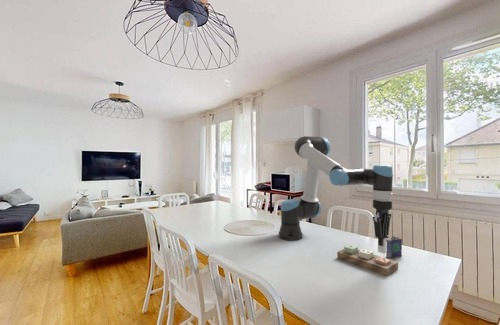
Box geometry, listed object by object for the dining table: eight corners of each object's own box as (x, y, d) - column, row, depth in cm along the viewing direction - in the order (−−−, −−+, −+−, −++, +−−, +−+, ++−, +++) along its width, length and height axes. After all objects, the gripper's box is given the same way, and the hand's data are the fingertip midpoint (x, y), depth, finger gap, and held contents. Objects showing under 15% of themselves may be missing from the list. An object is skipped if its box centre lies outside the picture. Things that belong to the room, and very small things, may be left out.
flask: (389, 258, 113) (389, 236, 113) (384, 256, 116) (384, 235, 116) (403, 256, 116) (403, 234, 116) (397, 254, 119) (397, 233, 119)
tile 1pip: (344, 251, 115) (344, 246, 115) (349, 249, 117) (349, 244, 117) (352, 254, 111) (352, 248, 111) (357, 252, 114) (357, 246, 114)
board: (337, 258, 114) (337, 251, 114) (349, 252, 121) (349, 247, 121) (387, 276, 96) (387, 269, 96) (398, 268, 102) (398, 262, 102)
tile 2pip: (358, 256, 109) (358, 250, 109) (363, 254, 111) (363, 248, 111) (368, 259, 105) (368, 253, 105) (373, 257, 108) (373, 251, 108)
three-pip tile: (375, 264, 103) (375, 259, 103) (379, 262, 105) (379, 256, 105) (386, 268, 99) (385, 262, 99) (390, 265, 102) (390, 259, 102)
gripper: (384, 202, 95) (384, 259, 96) (397, 199, 103) (397, 251, 103) (366, 200, 101) (366, 253, 102) (380, 197, 109) (379, 246, 109)
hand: (381, 252), depth 103 cm, fingers closed
